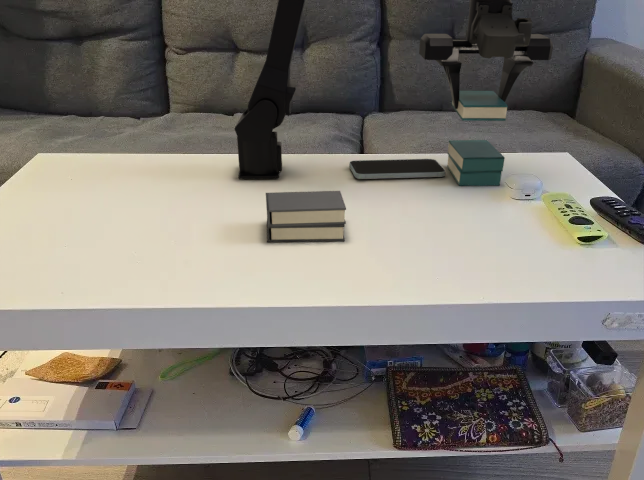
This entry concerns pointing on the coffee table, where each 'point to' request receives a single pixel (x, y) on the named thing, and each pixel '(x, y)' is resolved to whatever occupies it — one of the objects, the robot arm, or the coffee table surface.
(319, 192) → the grey book
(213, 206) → the coffee table surface
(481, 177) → the teal book
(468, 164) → the teal book
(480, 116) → the teal book
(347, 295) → the coffee table surface
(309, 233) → the grey book
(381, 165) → the smartphone
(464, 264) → the coffee table surface
